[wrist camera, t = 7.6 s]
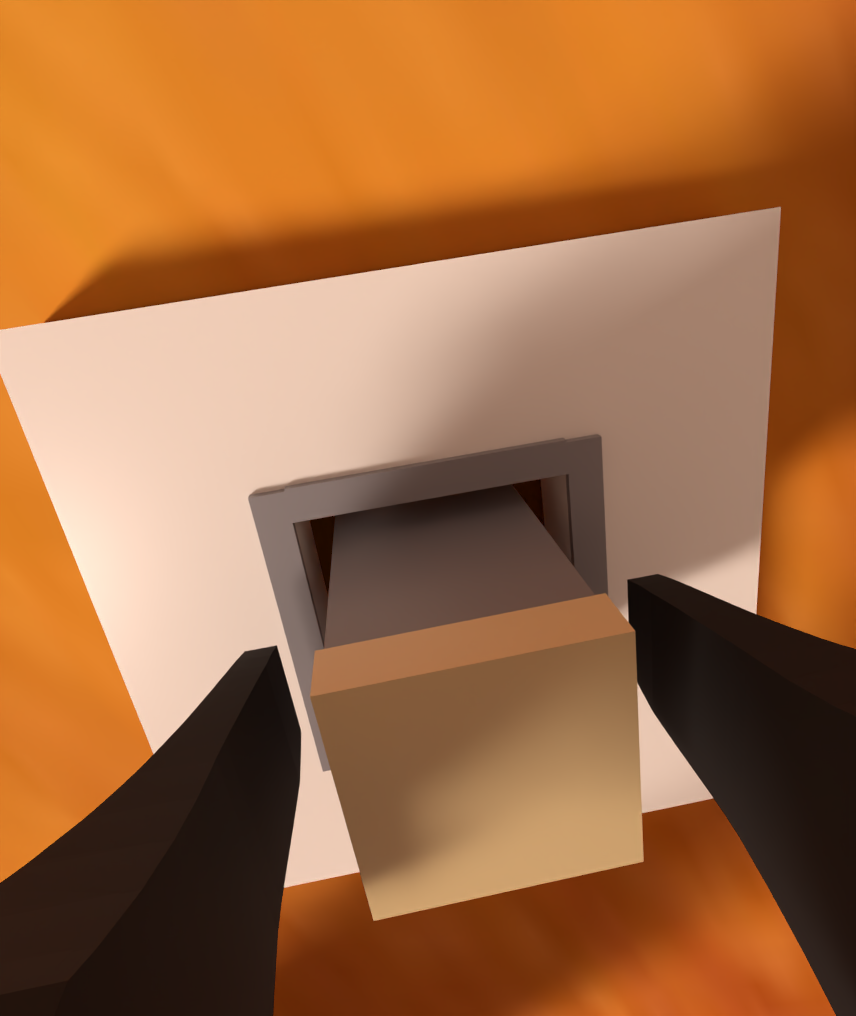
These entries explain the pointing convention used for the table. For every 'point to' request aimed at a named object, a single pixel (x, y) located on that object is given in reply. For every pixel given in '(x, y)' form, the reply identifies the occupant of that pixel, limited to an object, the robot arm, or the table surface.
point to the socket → (404, 449)
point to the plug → (474, 704)
